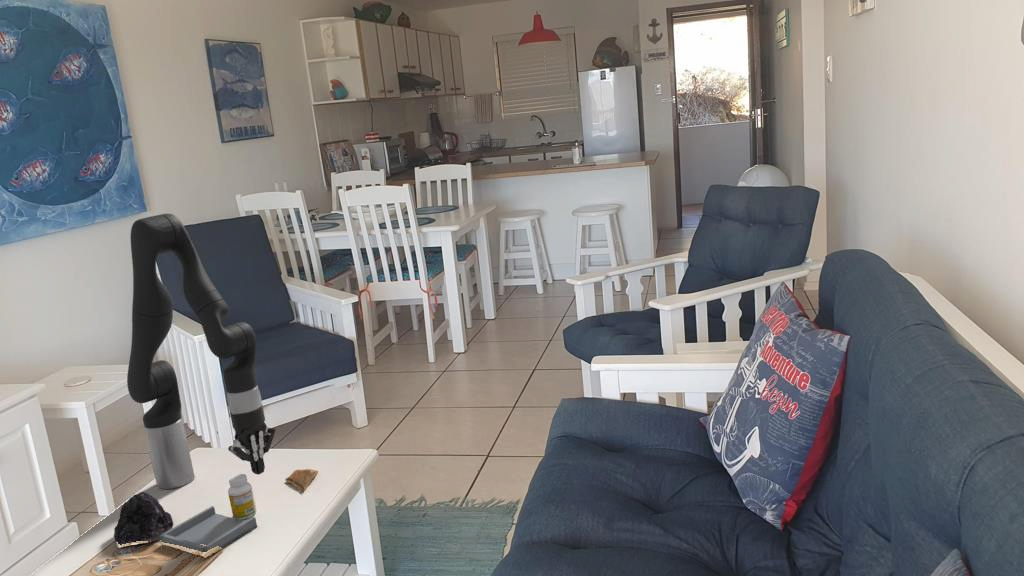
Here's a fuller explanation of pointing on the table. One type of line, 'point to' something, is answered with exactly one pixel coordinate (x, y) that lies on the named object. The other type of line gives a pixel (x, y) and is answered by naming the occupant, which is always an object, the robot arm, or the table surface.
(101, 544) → the table surface
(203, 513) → the tray
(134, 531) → the crystal cluster
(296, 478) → the shard
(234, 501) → the supplement bottle
